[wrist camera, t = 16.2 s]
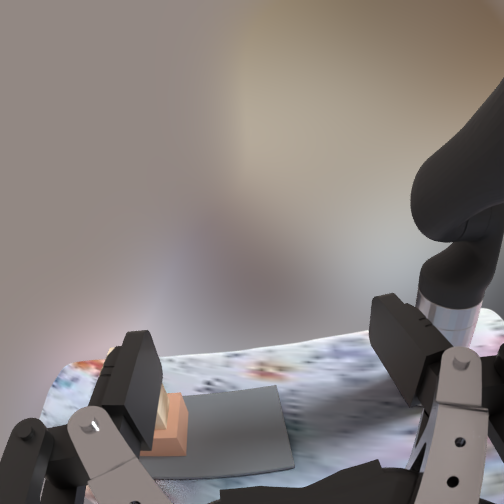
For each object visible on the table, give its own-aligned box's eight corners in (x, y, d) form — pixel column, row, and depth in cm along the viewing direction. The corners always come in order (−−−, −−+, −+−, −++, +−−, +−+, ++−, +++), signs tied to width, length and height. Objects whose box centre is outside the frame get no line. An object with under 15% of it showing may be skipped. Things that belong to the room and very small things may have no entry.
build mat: (134, 400, 45) (132, 398, 44) (276, 387, 46) (276, 385, 45) (118, 476, 31) (116, 474, 30) (294, 467, 32) (294, 465, 32)
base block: (138, 414, 41) (127, 394, 39) (188, 412, 42) (180, 392, 40) (130, 455, 34) (117, 437, 32) (186, 455, 34) (176, 437, 32)
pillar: (135, 402, 38) (110, 347, 34) (169, 401, 38) (147, 345, 35) (130, 429, 33) (99, 375, 30) (166, 429, 34) (140, 373, 30)
